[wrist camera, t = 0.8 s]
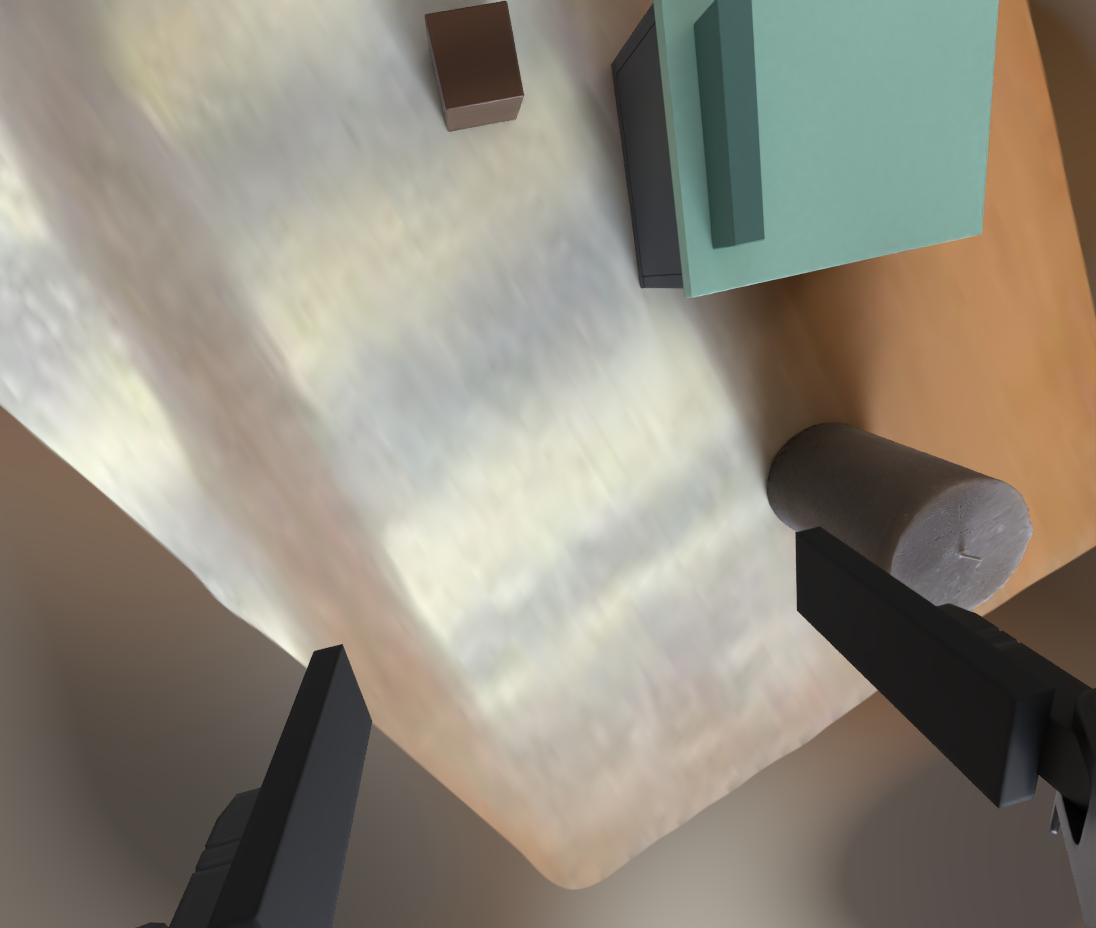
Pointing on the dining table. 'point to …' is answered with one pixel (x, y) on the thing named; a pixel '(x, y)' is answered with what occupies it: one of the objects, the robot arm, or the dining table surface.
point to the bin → (647, 157)
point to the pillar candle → (903, 511)
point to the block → (475, 65)
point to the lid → (822, 130)
